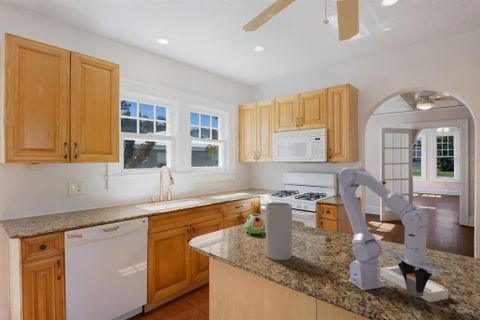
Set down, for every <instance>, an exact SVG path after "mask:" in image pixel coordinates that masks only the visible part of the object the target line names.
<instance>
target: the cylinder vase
mask: <svg viewBox="0 0 480 320" xmlns="http://www.w3.org/2000/svg"><path fill="white" fill-rule="evenodd" d="M265 255H266V258H269V259H270V260H274V261H287V260H290V259H291V258H292V256H293V204H292V203H290V202H289V203H288V202H277V201H276V202H275V201H274V202H267V203H265Z"/></svg>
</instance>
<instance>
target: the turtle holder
mask: <svg viewBox="0 0 480 320" xmlns="http://www.w3.org/2000/svg"><path fill="white" fill-rule="evenodd" d="M245 222H246V223H245V233H246V234H248V236H250V237H251V236H252V234H261V236H262V235H265V232H266V222H265V220H264V219H263V217H262V216H261V214H257V213H251V214H250V215H249V216H247V219H246V221H245Z"/></svg>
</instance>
